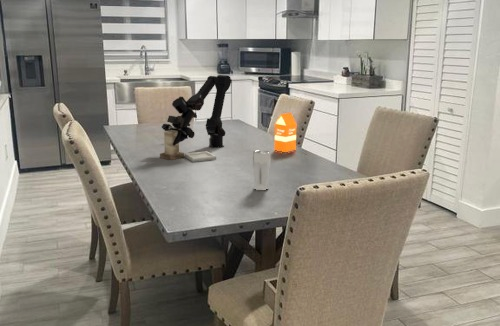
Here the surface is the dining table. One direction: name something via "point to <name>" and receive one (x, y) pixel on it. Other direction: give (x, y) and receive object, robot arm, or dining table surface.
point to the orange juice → (285, 133)
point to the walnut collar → (171, 156)
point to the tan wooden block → (171, 142)
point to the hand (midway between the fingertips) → (169, 144)
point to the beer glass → (261, 169)
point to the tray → (200, 156)
